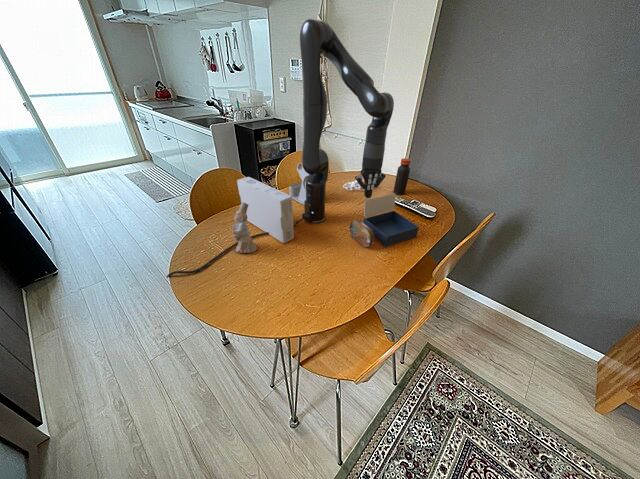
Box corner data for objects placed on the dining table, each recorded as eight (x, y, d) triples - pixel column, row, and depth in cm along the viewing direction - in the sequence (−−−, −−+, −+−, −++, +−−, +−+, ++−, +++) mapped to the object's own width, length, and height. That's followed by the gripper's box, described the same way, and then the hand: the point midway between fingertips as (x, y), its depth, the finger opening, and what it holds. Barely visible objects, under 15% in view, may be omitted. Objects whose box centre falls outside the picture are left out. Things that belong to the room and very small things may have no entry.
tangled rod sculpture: (348, 195, 152) (349, 189, 150) (340, 184, 163) (340, 178, 160) (378, 191, 157) (379, 185, 154) (367, 180, 167) (368, 175, 165)
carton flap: (364, 200, 114) (364, 199, 114) (364, 217, 117) (364, 217, 118) (395, 193, 121) (395, 192, 121) (394, 209, 124) (393, 209, 124)
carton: (385, 247, 109) (387, 236, 106) (362, 228, 121) (364, 218, 118) (416, 236, 116) (419, 226, 113) (392, 220, 128) (394, 210, 125)
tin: (348, 233, 117) (350, 217, 112) (354, 231, 118) (356, 215, 114) (368, 251, 106) (370, 234, 101) (374, 249, 107) (377, 232, 103)
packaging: (294, 237, 113) (292, 196, 102) (283, 243, 110) (280, 201, 98) (253, 214, 130) (248, 176, 119) (243, 218, 127) (236, 179, 115)
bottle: (395, 189, 158) (402, 157, 147) (406, 192, 155) (413, 159, 144) (391, 193, 154) (397, 159, 142) (402, 196, 151) (409, 162, 139)
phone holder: (287, 196, 148) (285, 165, 138) (301, 191, 154) (300, 161, 144) (306, 206, 138) (306, 174, 128) (320, 201, 144) (321, 169, 133)
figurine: (256, 241, 110) (250, 199, 99) (257, 253, 104) (250, 209, 92) (235, 244, 109) (226, 201, 97) (234, 256, 102) (224, 212, 91)
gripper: (383, 150, 100) (377, 191, 110) (352, 153, 96) (349, 195, 106) (394, 156, 94) (386, 199, 104) (362, 159, 90) (357, 203, 100)
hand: (367, 197), depth 105 cm, fingers closed
